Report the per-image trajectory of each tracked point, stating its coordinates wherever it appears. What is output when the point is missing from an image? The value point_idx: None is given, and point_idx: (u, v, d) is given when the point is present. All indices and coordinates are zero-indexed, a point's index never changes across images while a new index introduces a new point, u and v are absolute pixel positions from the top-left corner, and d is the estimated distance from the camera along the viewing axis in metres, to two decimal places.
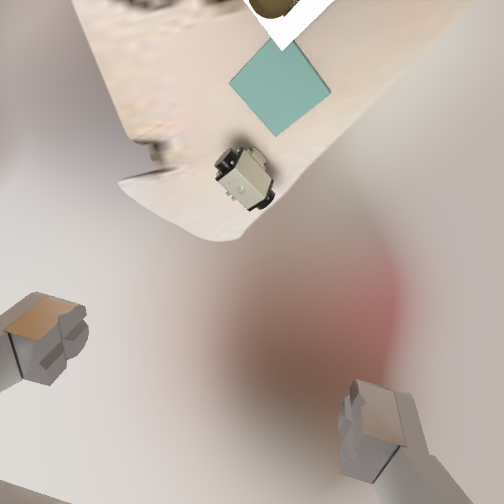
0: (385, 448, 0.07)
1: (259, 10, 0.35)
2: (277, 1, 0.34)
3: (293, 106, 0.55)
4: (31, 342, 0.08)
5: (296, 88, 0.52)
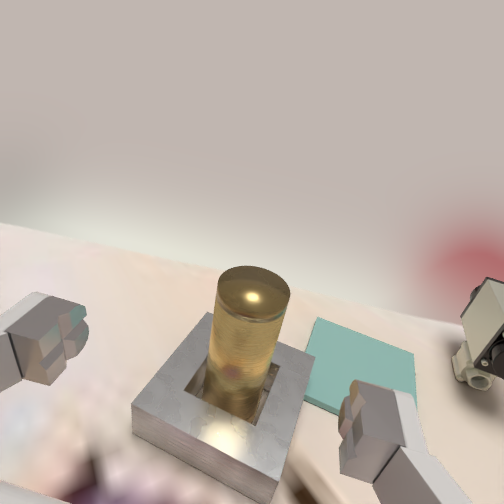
0: (385, 448, 0.07)
1: (284, 293, 0.23)
2: (262, 278, 0.24)
3: (361, 346, 0.38)
4: (31, 342, 0.08)
5: (340, 349, 0.37)
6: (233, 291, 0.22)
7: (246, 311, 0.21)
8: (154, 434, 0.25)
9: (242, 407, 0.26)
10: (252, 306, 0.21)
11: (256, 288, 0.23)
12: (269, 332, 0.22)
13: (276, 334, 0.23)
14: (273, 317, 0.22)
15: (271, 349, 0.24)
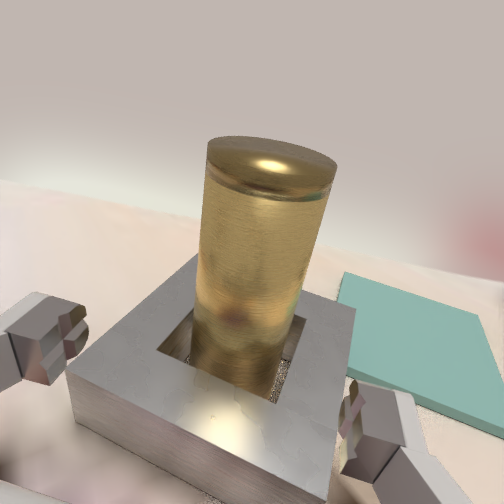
0: (385, 448, 0.07)
1: (327, 163, 0.13)
2: (285, 148, 0.14)
3: (408, 305, 0.28)
4: (31, 342, 0.08)
5: (381, 308, 0.27)
6: (236, 152, 0.12)
7: (262, 174, 0.11)
8: (107, 421, 0.15)
9: (252, 376, 0.16)
10: (273, 167, 0.11)
11: (276, 154, 0.13)
12: (302, 227, 0.12)
13: (312, 239, 0.13)
14: (311, 192, 0.11)
15: (302, 269, 0.14)
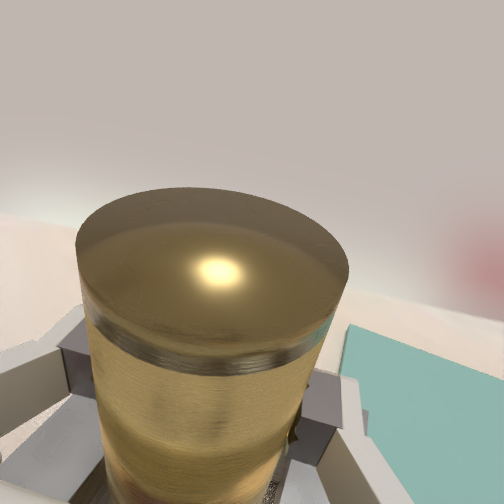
0: (323, 430, 0.07)
1: (329, 258, 0.06)
2: (251, 216, 0.07)
3: (432, 374, 0.22)
4: (84, 357, 0.08)
5: (398, 382, 0.21)
6: (136, 246, 0.06)
7: (169, 328, 0.04)
8: None
9: None
10: (199, 303, 0.05)
11: (227, 240, 0.06)
12: (276, 403, 0.06)
13: (299, 399, 0.07)
14: (292, 348, 0.05)
15: (281, 442, 0.07)
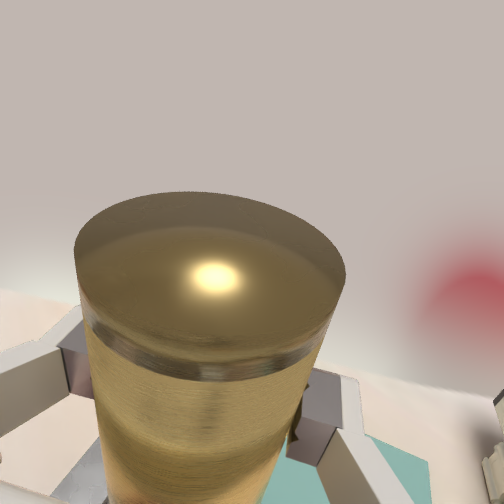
0: (323, 430, 0.07)
1: (326, 263, 0.06)
2: (249, 221, 0.08)
3: None
4: (83, 357, 0.08)
5: None
6: (134, 251, 0.06)
7: (166, 335, 0.04)
8: None
9: None
10: (197, 310, 0.05)
11: (225, 245, 0.06)
12: (272, 407, 0.06)
13: (296, 403, 0.07)
14: (289, 355, 0.05)
15: (279, 446, 0.08)
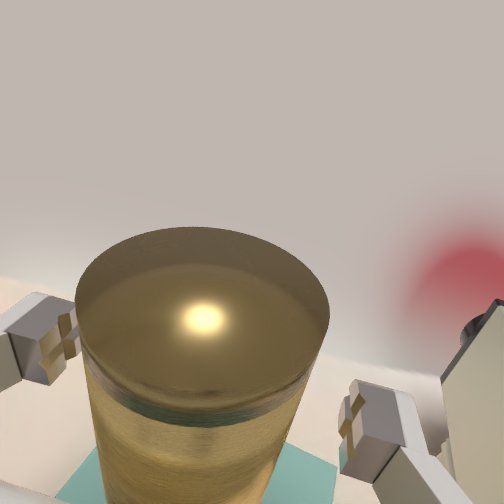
0: (385, 448, 0.07)
1: (311, 305, 0.07)
2: (241, 259, 0.08)
3: None
4: (31, 342, 0.08)
5: None
6: (131, 299, 0.06)
7: (159, 388, 0.05)
8: None
9: None
10: (187, 363, 0.05)
11: (217, 289, 0.07)
12: (260, 444, 0.06)
13: (284, 435, 0.07)
14: (274, 399, 0.06)
15: (269, 472, 0.08)
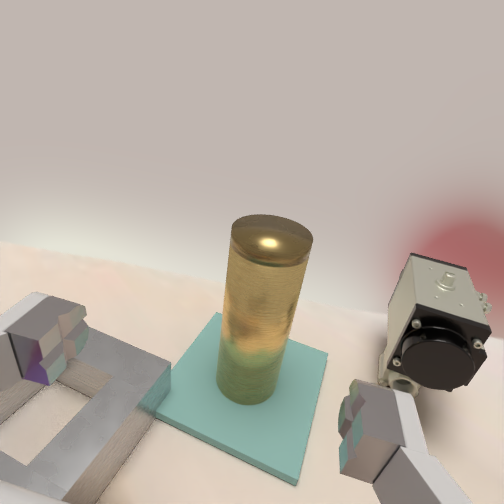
0: (385, 448, 0.07)
1: (307, 238, 0.20)
2: (280, 225, 0.21)
3: None
4: (31, 342, 0.08)
5: None
6: (250, 235, 0.20)
7: (266, 253, 0.18)
8: None
9: (262, 374, 0.24)
10: (272, 248, 0.19)
11: (275, 233, 0.20)
12: (291, 280, 0.20)
13: (299, 285, 0.21)
14: (296, 260, 0.19)
15: (293, 303, 0.21)
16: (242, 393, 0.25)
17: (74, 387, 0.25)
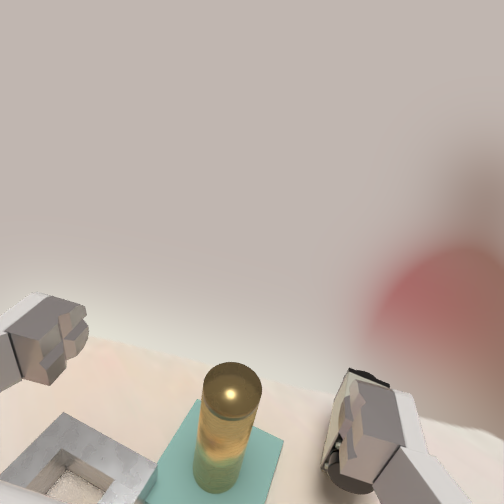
0: (385, 448, 0.07)
1: (257, 391, 0.28)
2: (240, 376, 0.29)
3: None
4: (31, 342, 0.08)
5: None
6: (216, 392, 0.28)
7: (225, 413, 0.26)
8: None
9: (226, 476, 0.32)
10: (230, 408, 0.27)
11: (234, 388, 0.28)
12: (244, 425, 0.28)
13: (251, 423, 0.29)
14: (247, 415, 0.27)
15: (247, 433, 0.29)
16: (211, 486, 0.33)
17: (83, 477, 0.33)
